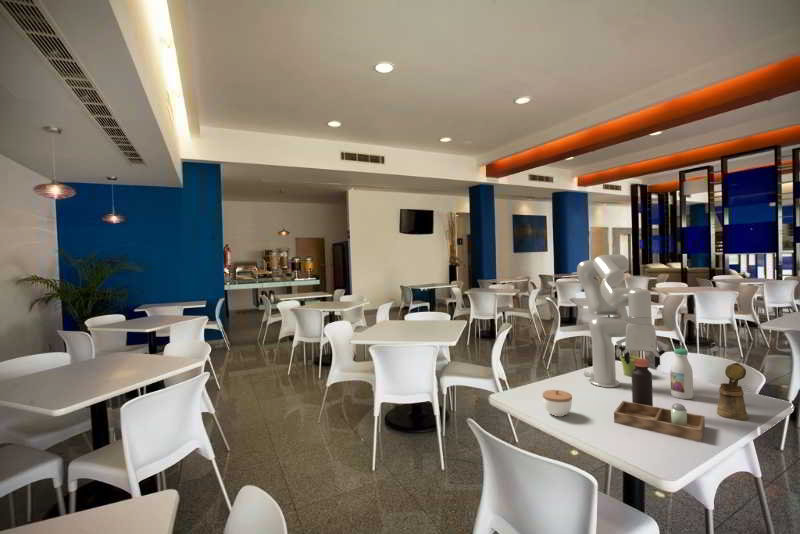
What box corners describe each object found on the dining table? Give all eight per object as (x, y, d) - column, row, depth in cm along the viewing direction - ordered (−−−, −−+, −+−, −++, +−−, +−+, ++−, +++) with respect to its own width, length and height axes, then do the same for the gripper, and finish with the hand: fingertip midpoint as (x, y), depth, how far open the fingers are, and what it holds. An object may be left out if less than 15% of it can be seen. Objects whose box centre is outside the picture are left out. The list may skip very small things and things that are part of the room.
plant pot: (618, 375, 194) (617, 358, 194) (622, 371, 202) (621, 354, 201) (640, 379, 188) (639, 361, 188) (643, 374, 196) (642, 357, 195)
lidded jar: (538, 409, 156) (537, 386, 156) (563, 407, 157) (563, 384, 157) (551, 420, 146) (550, 396, 146) (578, 418, 147) (577, 394, 146)
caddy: (614, 424, 140) (613, 412, 140) (623, 412, 150) (622, 400, 150) (701, 444, 123) (701, 430, 123) (704, 428, 134) (704, 416, 134)
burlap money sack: (754, 412, 146) (752, 364, 145) (744, 422, 138) (743, 372, 137) (724, 405, 153) (722, 360, 152) (713, 415, 145) (712, 367, 144)
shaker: (670, 429, 133) (669, 404, 133) (672, 425, 136) (671, 400, 136) (686, 433, 130) (685, 407, 130) (687, 428, 133) (687, 403, 133)
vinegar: (643, 406, 155) (642, 357, 155) (657, 412, 149) (655, 361, 148) (628, 408, 154) (627, 358, 154) (641, 414, 147) (640, 362, 147)
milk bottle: (685, 393, 168) (684, 347, 167) (697, 399, 160) (696, 351, 159) (667, 393, 168) (665, 347, 168) (678, 399, 161) (676, 352, 160)
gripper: (613, 321, 153) (614, 364, 153) (665, 323, 142) (667, 370, 142) (617, 318, 159) (619, 360, 159) (668, 321, 148) (670, 366, 147)
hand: (642, 364), depth 150 cm, fingers open, 9 cm apart
